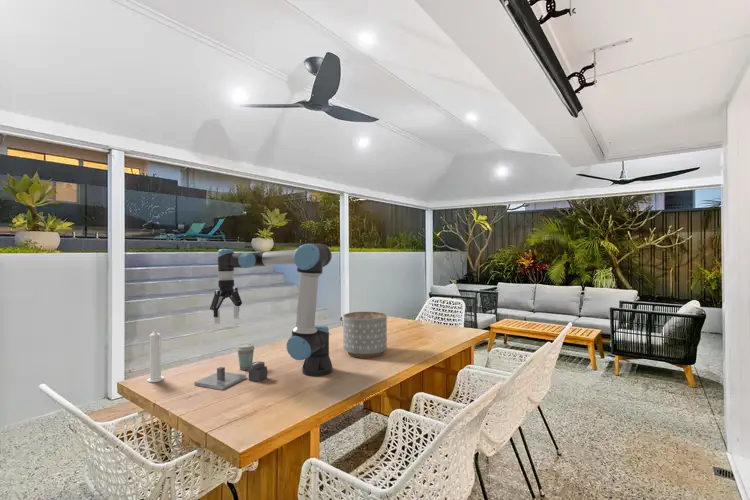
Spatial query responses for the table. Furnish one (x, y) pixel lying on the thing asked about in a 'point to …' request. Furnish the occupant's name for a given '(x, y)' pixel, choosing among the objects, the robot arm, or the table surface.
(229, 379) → the grey square plate
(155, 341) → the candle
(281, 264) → the robot arm
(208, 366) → the table surface
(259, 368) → the knob
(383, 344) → the planter
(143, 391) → the table surface
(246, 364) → the coffee cup
